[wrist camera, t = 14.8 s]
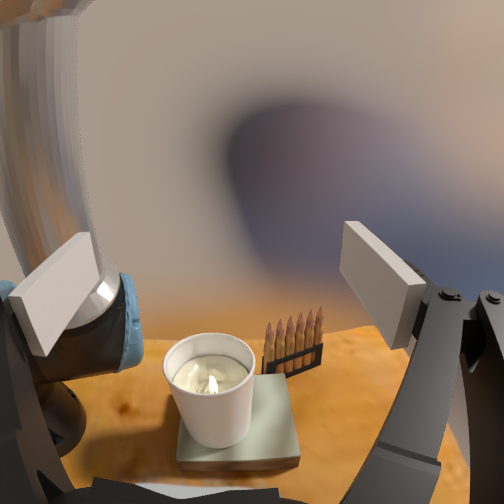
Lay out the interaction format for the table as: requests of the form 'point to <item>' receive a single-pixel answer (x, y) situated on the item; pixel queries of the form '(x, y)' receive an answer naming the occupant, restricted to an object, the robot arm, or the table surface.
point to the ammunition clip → (294, 346)
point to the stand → (250, 435)
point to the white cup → (212, 387)
